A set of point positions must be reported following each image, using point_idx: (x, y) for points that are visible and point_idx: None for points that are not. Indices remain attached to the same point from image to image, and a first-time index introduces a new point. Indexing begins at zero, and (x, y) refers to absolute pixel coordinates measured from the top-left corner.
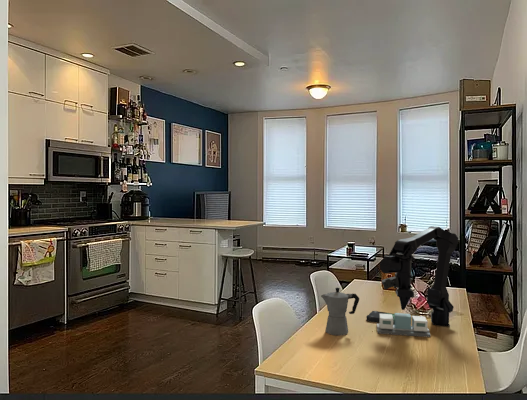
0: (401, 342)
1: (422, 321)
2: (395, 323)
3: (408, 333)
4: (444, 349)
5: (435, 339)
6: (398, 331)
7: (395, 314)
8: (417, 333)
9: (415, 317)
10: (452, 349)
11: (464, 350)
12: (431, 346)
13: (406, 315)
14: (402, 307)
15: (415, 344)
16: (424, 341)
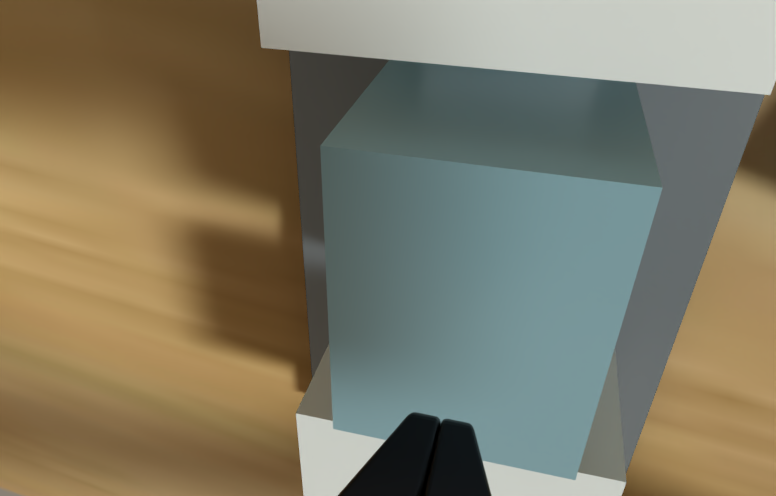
0: (6, 40)
1: (304, 494)
2: (376, 77)
3: (302, 208)
4: (37, 386)
5: (272, 415)
6: (338, 79)
7: (479, 173)
8: (317, 312)
9: (501, 488)
10: (70, 435)
11: (92, 491)
12: (54, 319)
13: (430, 388)
14: (367, 481)
15: (28, 192)
16: (169, 306)
